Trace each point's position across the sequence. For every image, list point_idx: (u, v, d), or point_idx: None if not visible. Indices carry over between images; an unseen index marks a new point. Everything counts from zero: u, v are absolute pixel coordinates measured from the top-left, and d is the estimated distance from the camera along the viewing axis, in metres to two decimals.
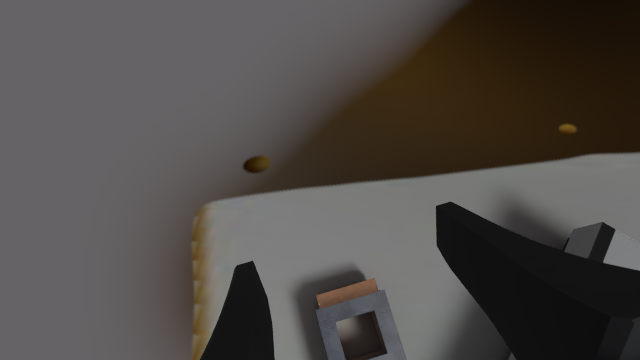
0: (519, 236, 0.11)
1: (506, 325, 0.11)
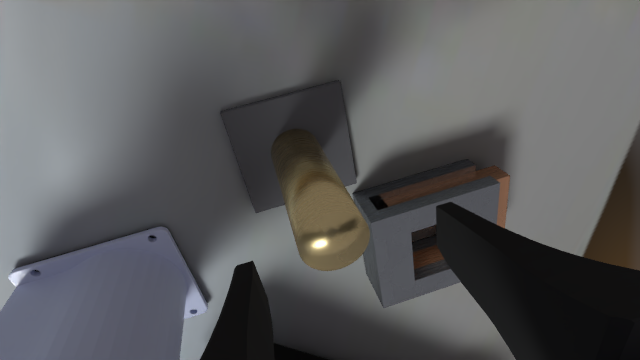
0: (519, 236, 0.11)
1: (506, 325, 0.11)
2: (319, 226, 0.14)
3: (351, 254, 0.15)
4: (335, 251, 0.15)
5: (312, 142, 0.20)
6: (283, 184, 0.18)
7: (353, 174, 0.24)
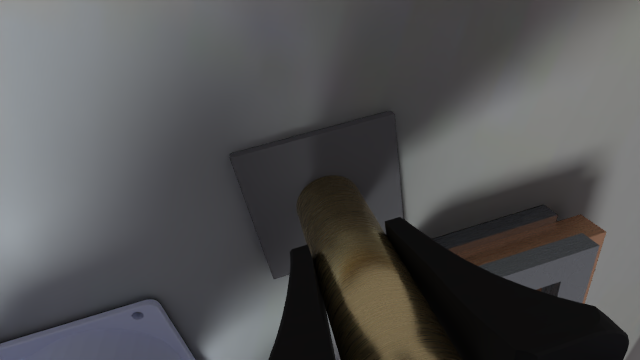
0: (456, 256, 0.11)
1: None
2: None
3: None
4: None
5: (356, 200, 0.14)
6: (321, 272, 0.12)
7: None
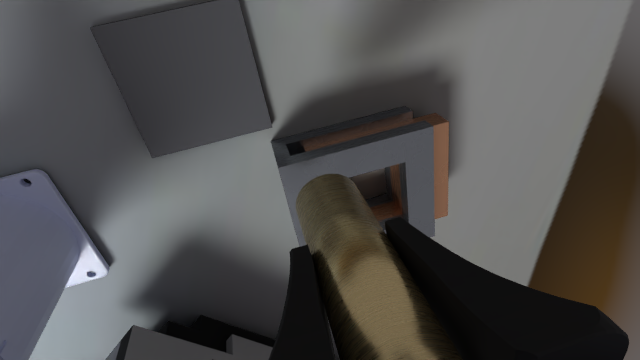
0: (456, 256, 0.11)
1: None
2: None
3: None
4: None
5: (355, 198, 0.14)
6: (320, 271, 0.12)
7: (267, 116, 0.21)
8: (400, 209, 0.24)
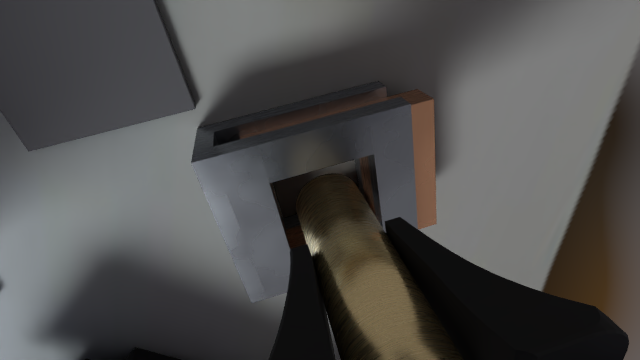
0: (456, 256, 0.11)
1: None
2: None
3: None
4: None
5: (355, 198, 0.14)
6: (320, 271, 0.12)
7: (186, 93, 0.15)
8: None
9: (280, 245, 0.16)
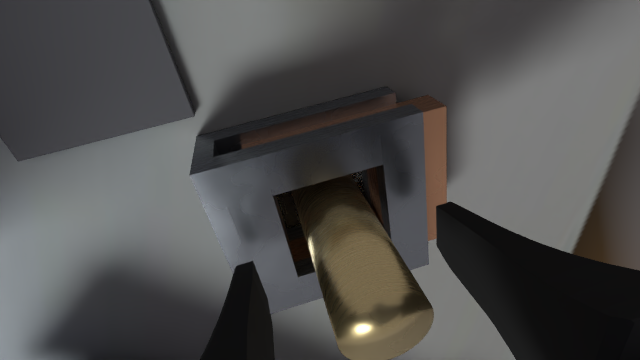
0: (519, 236, 0.11)
1: (506, 325, 0.11)
2: (367, 313, 0.10)
3: (406, 341, 0.11)
4: (386, 340, 0.11)
5: None
6: (309, 234, 0.14)
7: (184, 100, 0.15)
8: None
9: (284, 260, 0.16)
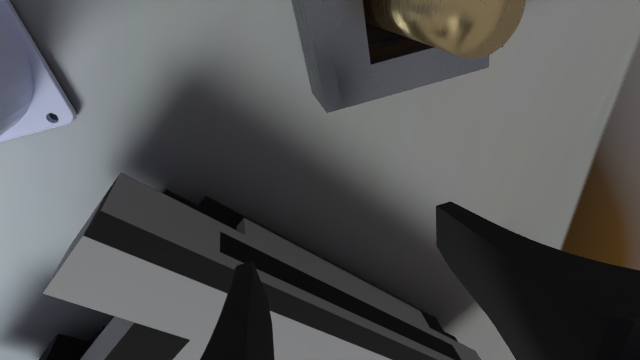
0: (519, 236, 0.11)
1: (506, 325, 0.11)
2: None
3: (498, 34, 0.12)
4: (481, 26, 0.12)
5: None
6: None
7: None
8: None
9: (360, 40, 0.17)
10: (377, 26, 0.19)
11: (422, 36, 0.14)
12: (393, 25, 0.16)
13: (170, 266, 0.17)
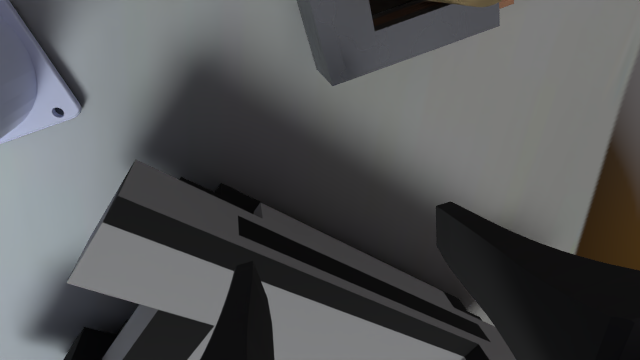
0: (519, 236, 0.11)
1: (506, 325, 0.11)
2: None
3: None
4: None
5: None
6: None
7: None
8: None
9: (362, 6, 0.16)
10: None
11: None
12: None
13: (190, 251, 0.17)
